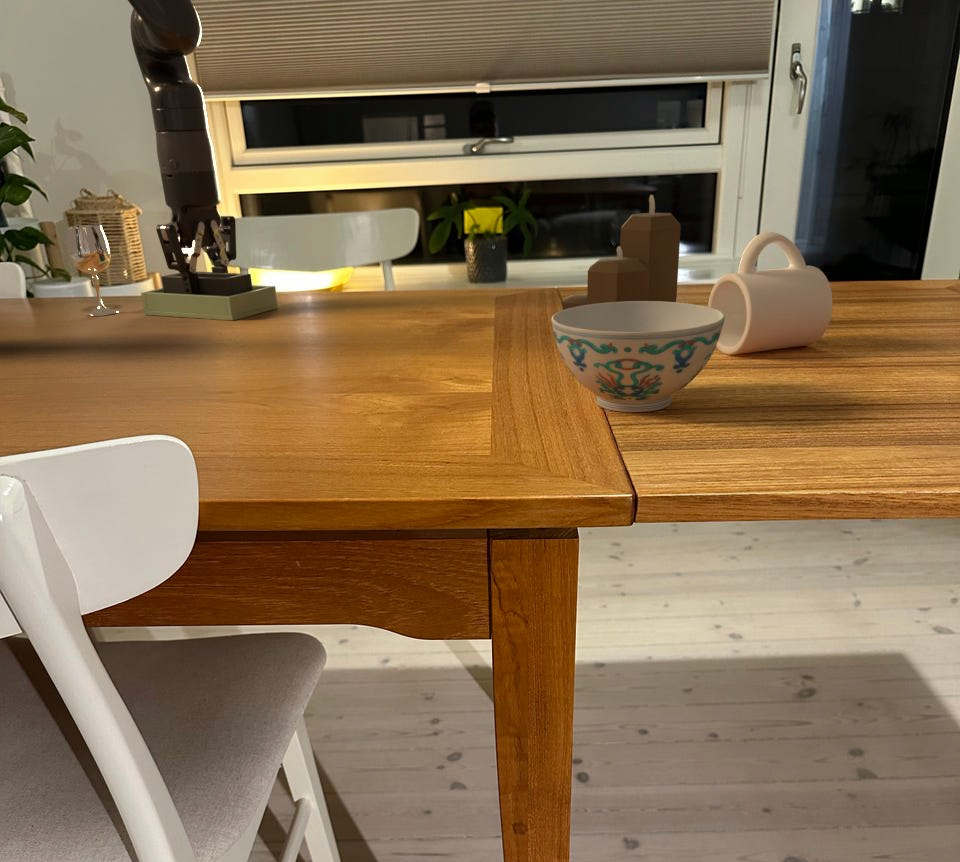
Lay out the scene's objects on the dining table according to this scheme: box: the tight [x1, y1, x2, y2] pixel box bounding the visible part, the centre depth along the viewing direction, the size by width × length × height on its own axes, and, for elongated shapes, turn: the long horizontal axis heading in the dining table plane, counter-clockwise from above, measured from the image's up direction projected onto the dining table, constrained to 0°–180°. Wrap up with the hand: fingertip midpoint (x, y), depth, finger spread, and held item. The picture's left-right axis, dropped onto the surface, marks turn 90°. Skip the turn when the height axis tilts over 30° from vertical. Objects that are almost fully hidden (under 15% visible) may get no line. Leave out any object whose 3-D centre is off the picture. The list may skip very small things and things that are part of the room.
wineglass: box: [66, 224, 119, 317], centre depth 140 cm, size 6×6×12 cm
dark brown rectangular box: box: [160, 271, 253, 296], centre depth 139 cm, size 12×6×4 cm, turn 63°
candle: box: [561, 194, 682, 311], centre depth 113 cm, size 14×14×15 cm
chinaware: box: [551, 301, 725, 413], centre depth 86 cm, size 15×15×8 cm
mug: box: [707, 231, 834, 356], centre depth 102 cm, size 8×10×12 cm
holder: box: [140, 284, 279, 322], centre depth 140 cm, size 17×10×3 cm, turn 63°
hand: (208, 296), depth 139 cm, fingers closed on dark brown rectangular box, 5 cm apart
